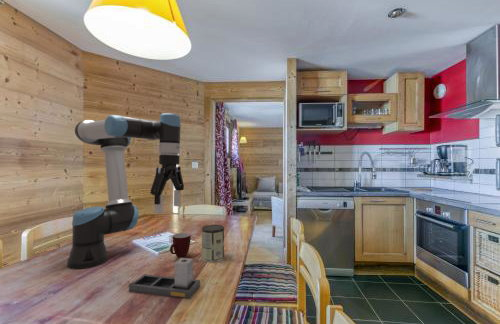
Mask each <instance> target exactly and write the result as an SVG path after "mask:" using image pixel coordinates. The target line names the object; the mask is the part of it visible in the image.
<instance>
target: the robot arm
mask: <svg viewBox="0 0 500 324" xmlns="http://www.w3.org/2000/svg"><path fill="white" fill-rule="evenodd" d="M181 126H182V125H181V116H180V115H178V114H176V113H169V112H168V113H167V112H165V113H161V114H160V117H159V120H151V119H144V118H137V117H136V118H134V117H129V116H122V115H120V114H118V115H117V114H110V115H108V116H107V117H106V119H101V120H91V119H85V120H82V121H80V122H78V123H77V124H76V125H75V127H74V134H75V136H76V138H77V139H78V140H79V141H81V142H83V143H85V144H88V145H92V146H93V145H95V146H100V147H99V148H100V151H101V152H103V153H104V160H105V161H104V162H105V163H104V164H105V172H106V173H105V174H106V183H107V184H106V185H107V195H108V196H107V197H108V201H107V203H106V204H105V207H103V206H98V205H97V206H92V207H86V208H82V209H80V210H77V211H75V212H74V213H73V214H72V223H71V225H72V245H71V250H70V254H69V257H68V259H66V260H67V262H66V263H67V268H70V269H74V270H75V269H76V270H77V269H78V270H79V269H80V270H81V269H87V268H92V267H95V266H99V265H102V264H103V263H105V262H107V261H108V260H109V253H108V252H109V251H107V248H106V245H105V239H104V237H105V235H111V234H114V233H115V234H116V233H120V232H126V231H129V230H132V229H134V228H135V227H136V225H137V223H138V221H139V209H138V207H137V206H136V205H135V204H133V201H132V200H131V199H130V198H129V192H128V191H129V190H128V181H127V170H126V169H127V168H126V160H125V159H126V158H125V151H126V150H127V149H128V146H129V145H130V144H131V140H132V138H133V139H143V140H149V141H156V140H159V145H158V146H159V147H158V149H159V151H158V153H159V156H158V164H159V165H160V166H161V167H160V166H159V167H156V169H155V170H156V171H155V176H154V179H153V181H152V185H151V189H150V195H152V196H154V200H153V201H154V214H163V203H164V202H163V200H164V199H163V198H164V197H163V195H162V193H163V191H164V189H165V187H166V184H167V182H168V181H169V180H170V181H171V183H172V185H173V187H174V190H173V207H181V203H182V202H181V200H182V191H184V188H185V185H184V181H183V175H182V170H181V169H182V168H181V166H178V165H180V163H181V162H180V161H181V158H180V155H179V154H180V149H181V145H180V144H181Z"/></svg>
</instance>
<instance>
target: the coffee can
mask: <svg viewBox="0 0 500 324" xmlns="http://www.w3.org/2000/svg"><path fill="white" fill-rule="evenodd" d="M224 259H225V226H224V225H221V224H209V225H204V226H202V227H201V260H202V261H203V262H207V263H216V262H220V261H223V260H224Z"/></svg>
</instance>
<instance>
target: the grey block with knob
mask: <svg viewBox="0 0 500 324" xmlns="http://www.w3.org/2000/svg"><path fill="white" fill-rule="evenodd" d="M174 277H175V289H183V290H189V289H190V288H191V287H192V285H193V279H194V258H187V257H185V258H178V260H177V261H175V262H174Z"/></svg>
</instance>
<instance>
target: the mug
mask: <svg viewBox="0 0 500 324" xmlns="http://www.w3.org/2000/svg"><path fill="white" fill-rule="evenodd" d="M191 240H192V239H191V233H188V232H179V233H174V234H173V235H172V244H171V245H170V247H169V252H170V253H171V255H175V256H176V257H177V258H178V259H180V258H187V256H188V253H189V251H190V246H191Z"/></svg>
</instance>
